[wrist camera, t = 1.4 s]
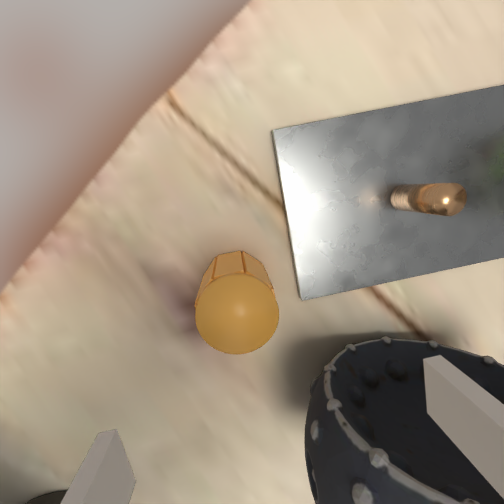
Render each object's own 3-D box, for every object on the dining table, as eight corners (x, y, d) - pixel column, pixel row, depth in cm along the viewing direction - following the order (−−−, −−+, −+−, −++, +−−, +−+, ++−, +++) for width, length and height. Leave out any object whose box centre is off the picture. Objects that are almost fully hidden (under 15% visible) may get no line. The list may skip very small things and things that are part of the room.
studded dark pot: (285, 332, 30) (388, 595, 11) (466, 325, 32) (849, 545, 12) (283, 420, 32) (365, 769, 13) (452, 410, 34) (755, 709, 14)
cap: (212, 315, 29) (206, 361, 21) (198, 259, 28) (186, 286, 20) (270, 303, 29) (285, 344, 21) (259, 246, 28) (270, 268, 20)
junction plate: (299, 297, 29) (320, 329, 23) (271, 132, 26) (286, 111, 19) (505, 253, 30) (585, 271, 23) (505, 86, 26) (601, 50, 20)
